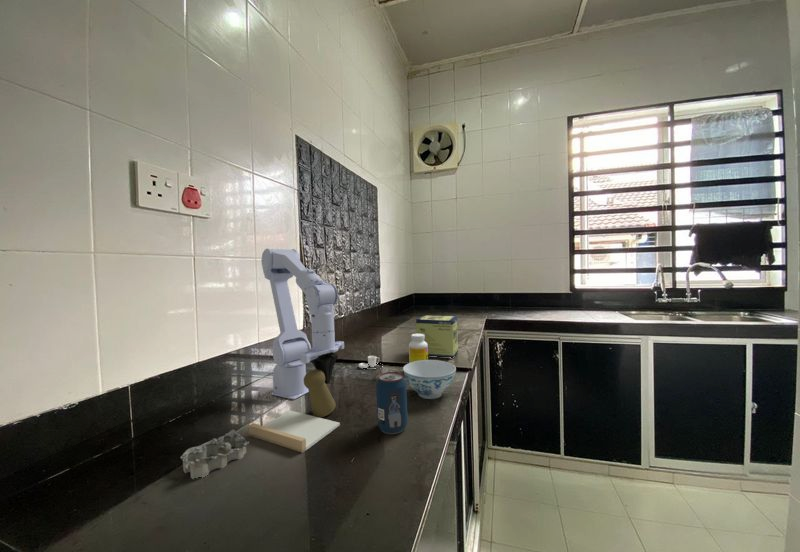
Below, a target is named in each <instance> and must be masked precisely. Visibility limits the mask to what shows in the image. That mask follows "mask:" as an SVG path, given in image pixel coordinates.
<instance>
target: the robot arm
mask: <svg viewBox="0 0 800 552" xmlns="http://www.w3.org/2000/svg"><path fill="white" fill-rule="evenodd" d="M300 258H301V255H300V253H299V252H298V250H297V249H296V248H292V249H282V248H281V249H279V248H277V249H276V248H275V249H273V248H265V249H264V250H263V251H262V255H261V259H260V260H261V267H262V271H263V275H264V279H267V280H268V281H269V283H270V288H271V293H272V298H273V303H274V308H275V312H276V318H277V322H278V327H279V332H280V333H279V334H278V335H277V336H276V337H275V338H274V339H273V341H272V358H273V361H274V363H275V366H274V367H273V370H272V384H273V386H272V390H273V391H272V392H271V395H272V396H276V397H280V398H284V399H289V400H296V399H299V398H300V397H302V396H304V395H306V394H309V390H308V388H306V386H305V385H304V377H305V375H306V374H307V371H306V370H307V368H306V366H307V365H306V364H308V363H310V362H311V363H312V365H313V366H314V368H315V370H316V369H318V370H321V371H322V372H323V373H324V374H325V384H326V385H328V384H330V382H331V379H332V373H333V370H334V366H335V364H336V361H337V360H338V358H339V357H338V353H336V352H338V351H339V350H344V349H345V341H341V340H337V341H336V340H335V339H336V338H335V337H336V336H335V335H336V334H335V312H334V311H335V310H334V309H335V307H334V305H336V304H337V302H338V297H339V295H338V288H337V287H336V286H335V284H334V283H331V282H329V283H328V282H325V281H324V280H323V278H321V277H320V276H319V275H318V274H317V273H316V272H315V270H314V269H311V268H306V267H305V265H304V264H303V263H302V261H301V259H300ZM293 277H295V283H296V285H297V286H298V287H299V289H300V290H301V291H302V292H303V293H304V294H305V301H306V304H307V307H308V313H309V315H310V318H311V319H310V321H311V342H312V345H311V343H310V341H309V340H308V336H307V333H305V332H304V331H301V330H299V329H298V326H297V325H298V324H297V321H296V316H295V315H296V314H295V311H294V306H293V302H292V297H291V293H290V289H289V284H288V281H289V279H291V278H293Z"/></svg>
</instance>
